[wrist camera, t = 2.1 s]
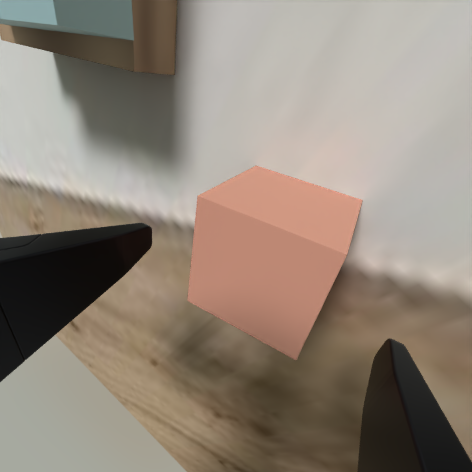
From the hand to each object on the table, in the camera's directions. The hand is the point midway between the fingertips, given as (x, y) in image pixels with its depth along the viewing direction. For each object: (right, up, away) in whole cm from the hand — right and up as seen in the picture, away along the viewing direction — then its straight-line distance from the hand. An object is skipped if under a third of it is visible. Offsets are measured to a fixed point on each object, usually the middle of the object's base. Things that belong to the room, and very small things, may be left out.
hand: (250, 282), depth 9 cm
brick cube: (+2, +2, +4) cm, 5 cm away
